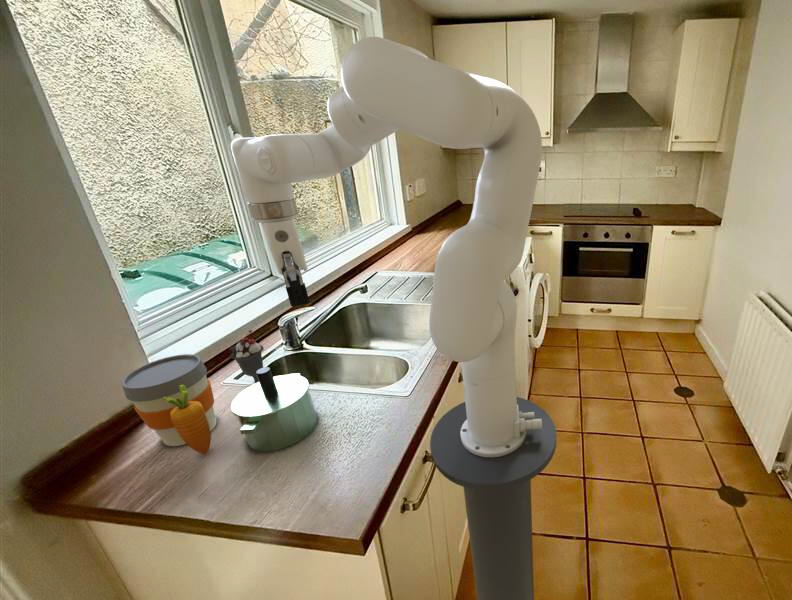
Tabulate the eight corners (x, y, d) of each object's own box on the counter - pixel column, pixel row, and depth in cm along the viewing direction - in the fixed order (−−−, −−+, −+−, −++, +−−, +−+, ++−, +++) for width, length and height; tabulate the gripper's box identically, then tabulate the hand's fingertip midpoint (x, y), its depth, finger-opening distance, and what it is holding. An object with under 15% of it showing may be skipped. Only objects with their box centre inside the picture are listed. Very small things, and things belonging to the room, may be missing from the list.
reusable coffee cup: (220, 403, 90) (197, 347, 84) (232, 429, 82) (207, 368, 76) (149, 431, 82) (118, 371, 76) (154, 463, 74) (120, 398, 68)
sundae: (281, 381, 98) (264, 327, 92) (258, 397, 92) (238, 341, 86) (261, 377, 100) (242, 325, 94) (237, 393, 94) (216, 338, 88)
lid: (321, 377, 84) (313, 350, 82) (289, 419, 72) (279, 389, 69) (258, 380, 84) (248, 353, 82) (215, 422, 72) (203, 393, 69)
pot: (331, 400, 90) (322, 369, 86) (292, 460, 73) (280, 424, 70) (276, 403, 89) (265, 372, 86) (225, 464, 73) (209, 428, 70)
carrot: (199, 466, 73) (168, 400, 67) (184, 458, 75) (152, 394, 69) (226, 448, 77) (199, 384, 71) (211, 441, 79) (184, 379, 73)
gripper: (301, 214, 66) (324, 306, 73) (293, 202, 80) (313, 281, 87) (249, 220, 63) (279, 316, 70) (251, 207, 77) (275, 288, 83)
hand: (298, 296), depth 78 cm, fingers open, 9 cm apart
